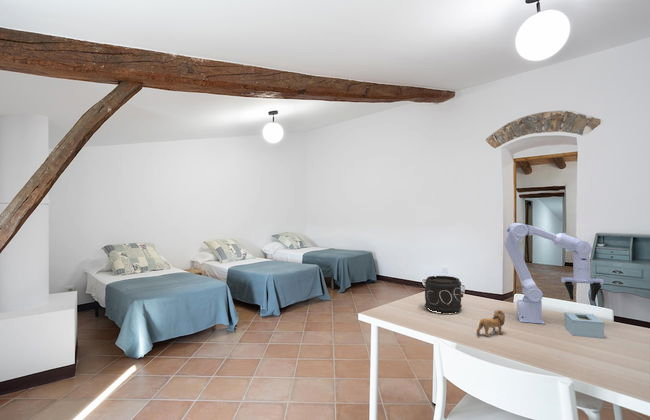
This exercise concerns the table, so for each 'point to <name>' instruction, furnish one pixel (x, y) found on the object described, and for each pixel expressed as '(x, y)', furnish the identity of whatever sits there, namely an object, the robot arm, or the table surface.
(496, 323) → the lion figurine
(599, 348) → the table surface
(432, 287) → the black lettered canister
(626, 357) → the table surface
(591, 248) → the robot arm
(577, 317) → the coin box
